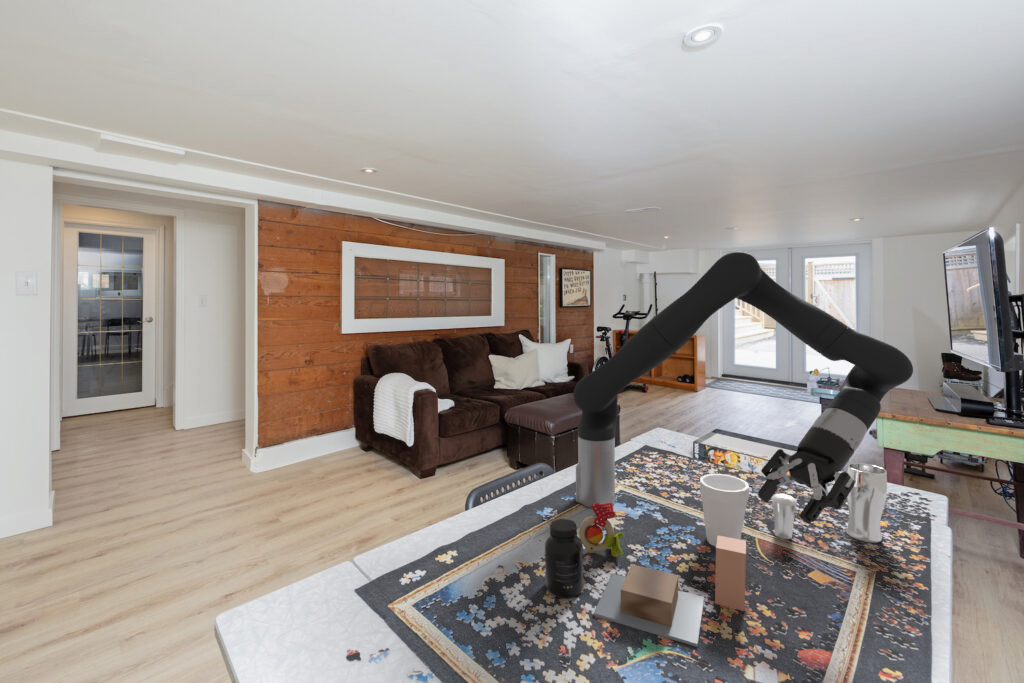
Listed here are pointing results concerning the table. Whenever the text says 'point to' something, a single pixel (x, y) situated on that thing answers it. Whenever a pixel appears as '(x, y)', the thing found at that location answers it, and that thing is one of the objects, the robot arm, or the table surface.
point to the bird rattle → (600, 530)
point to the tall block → (730, 572)
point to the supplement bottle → (564, 559)
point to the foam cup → (723, 505)
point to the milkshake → (784, 514)
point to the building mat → (682, 625)
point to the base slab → (650, 595)
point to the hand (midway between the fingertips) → (782, 509)
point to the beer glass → (866, 501)
